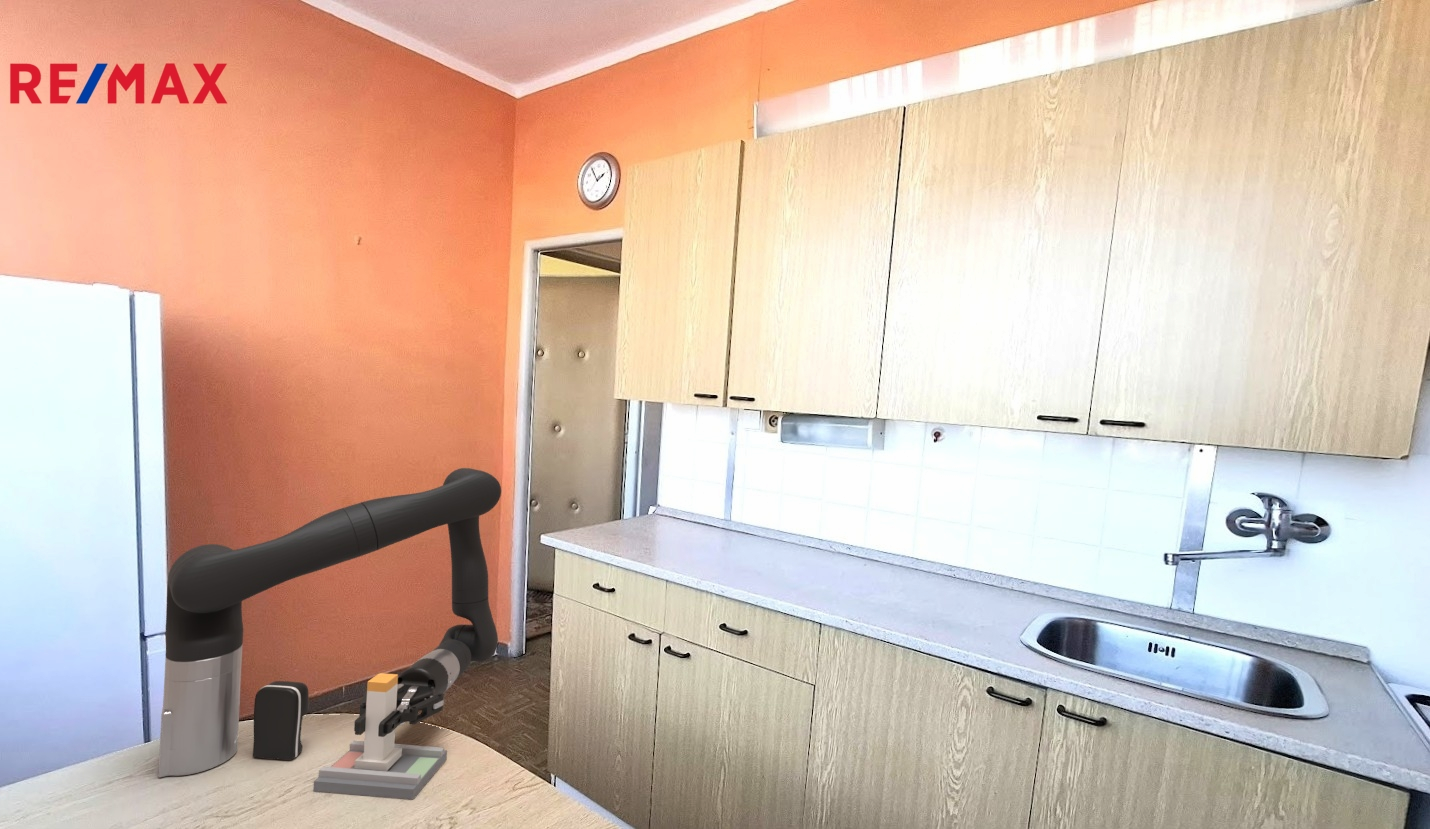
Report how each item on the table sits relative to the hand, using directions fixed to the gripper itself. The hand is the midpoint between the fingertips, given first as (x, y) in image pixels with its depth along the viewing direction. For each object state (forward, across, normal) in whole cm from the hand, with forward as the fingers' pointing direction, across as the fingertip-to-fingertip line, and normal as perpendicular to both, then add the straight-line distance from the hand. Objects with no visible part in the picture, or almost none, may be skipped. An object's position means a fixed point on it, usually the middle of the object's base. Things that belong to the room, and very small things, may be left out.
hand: (369, 729), depth 89 cm
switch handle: (-3, 0, +7) cm, 7 cm away
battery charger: (-6, -18, +9) cm, 21 cm away
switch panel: (-3, +1, +8) cm, 9 cm away
